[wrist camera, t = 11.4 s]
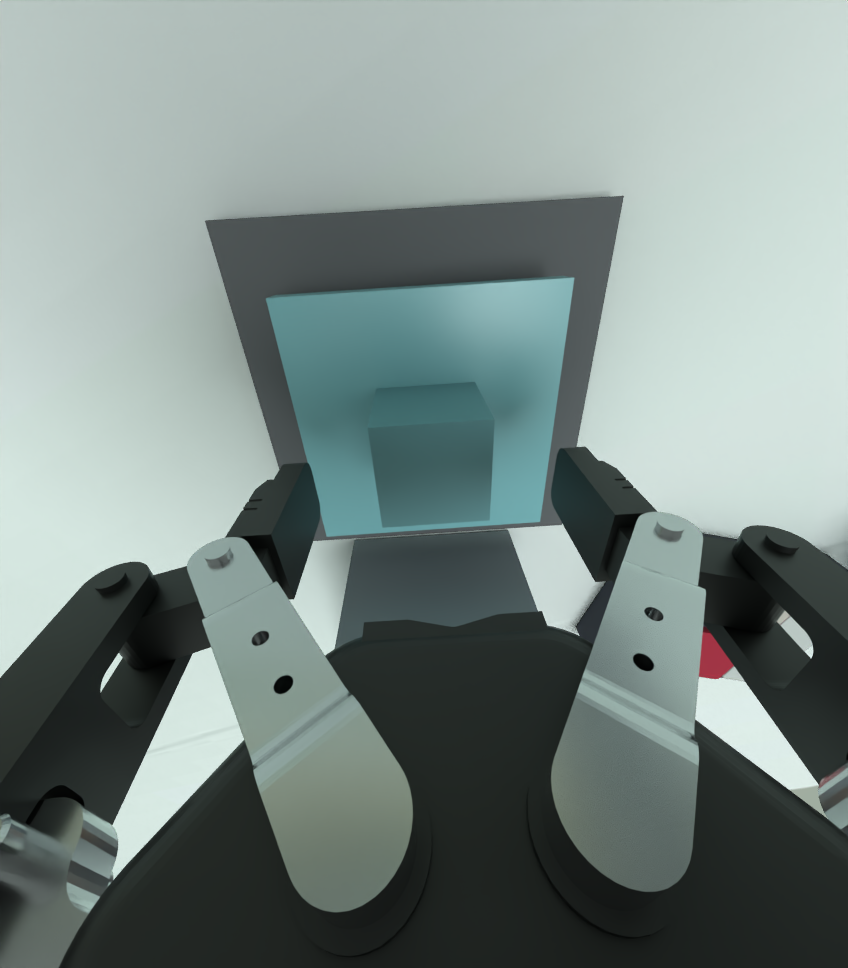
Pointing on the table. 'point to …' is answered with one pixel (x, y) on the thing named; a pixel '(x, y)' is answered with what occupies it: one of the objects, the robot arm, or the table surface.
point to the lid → (426, 399)
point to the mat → (412, 262)
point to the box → (433, 581)
